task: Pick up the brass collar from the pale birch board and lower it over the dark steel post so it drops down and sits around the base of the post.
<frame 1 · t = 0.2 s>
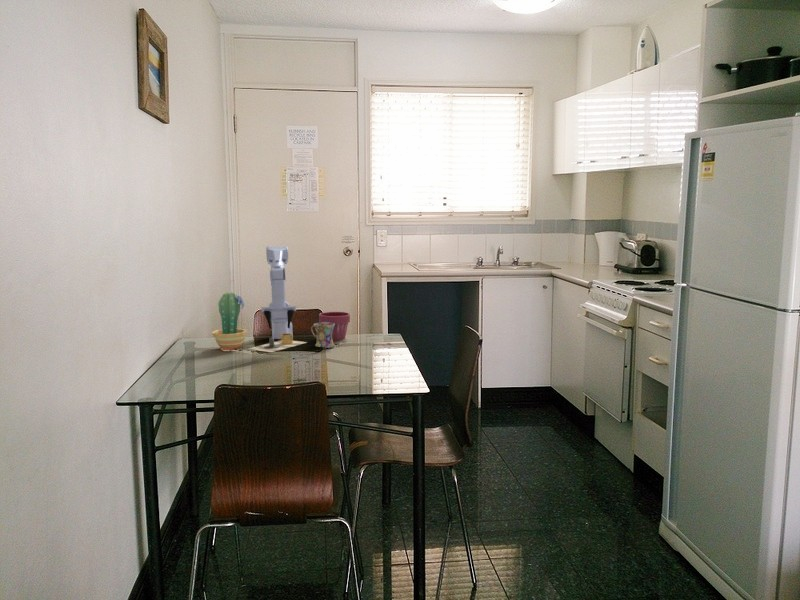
hand: (279, 328, 289), 11 cm above the table, tool pointing down, fingers open, 7 cm apart
plant pot: (335, 341, 316), on the table
potted cactus: (230, 349, 299), on the table
mug: (322, 347, 301), on the table
brass collar: (287, 343, 305), point 1 cm above the table, touching post board
post board: (278, 348, 300), on the table
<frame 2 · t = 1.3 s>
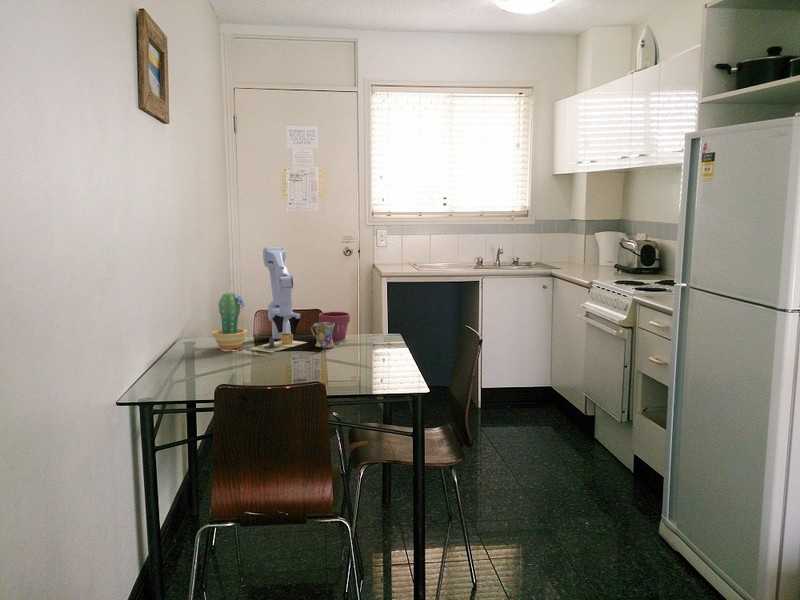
hand: (286, 333, 304), 6 cm above the table, tool pointing down, fingers open, 7 cm apart
nothing on the table moved.
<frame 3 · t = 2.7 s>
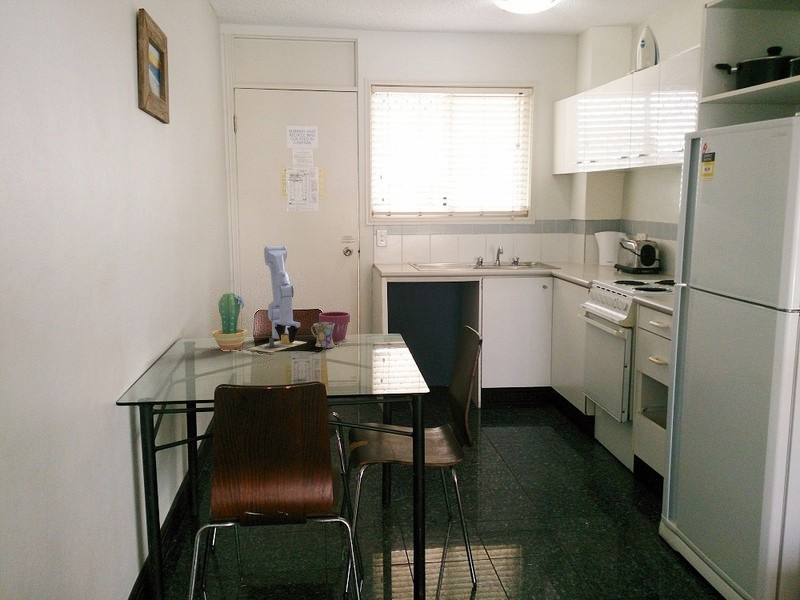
hand: (287, 341, 305), 2 cm above the table, tool pointing down, fingers closed on brass collar, 5 cm apart
brass collar: (287, 343, 305), point 1 cm above the table, touching gripper, post board
everything else where it was.
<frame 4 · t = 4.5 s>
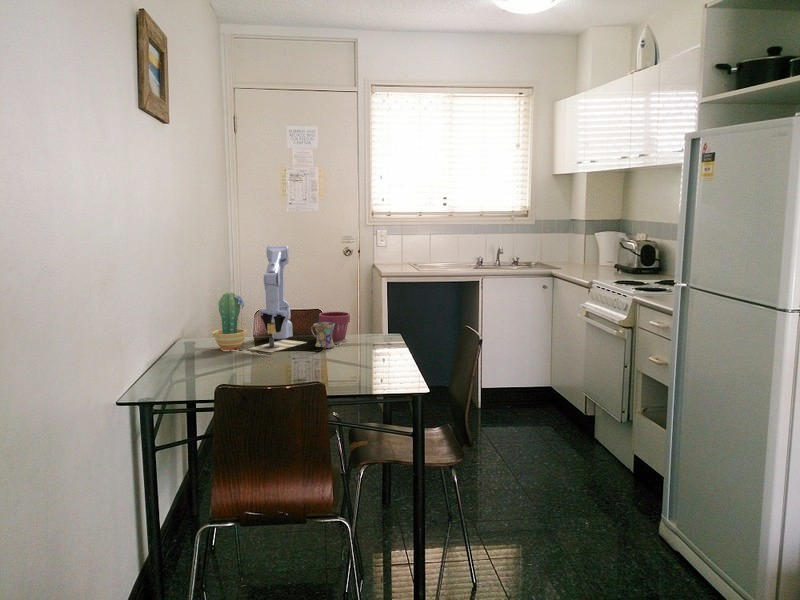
hand: (273, 331, 297), 8 cm above the table, tool pointing down, fingers closed on brass collar, 5 cm apart
brass collar: (273, 332, 297), point 7 cm above the table, touching gripper
everything else where it was.
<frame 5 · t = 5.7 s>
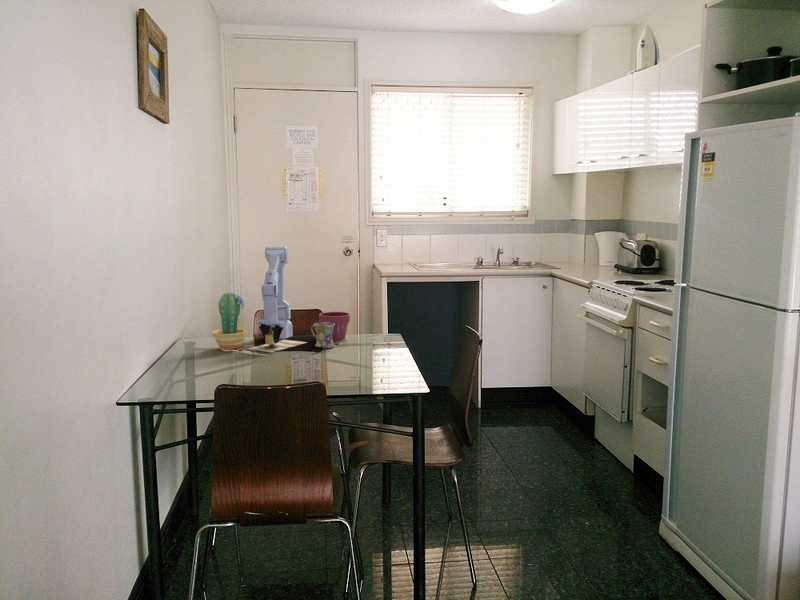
hand: (271, 342, 296), 3 cm above the table, tool pointing down, fingers closed on brass collar, 5 cm apart
brass collar: (271, 343, 296), point 3 cm above the table, touching gripper
everything else where it was.
when the fingers open (3 cm above the table, at t = 6.7 s): brass collar drops 1 cm, resting on post board.
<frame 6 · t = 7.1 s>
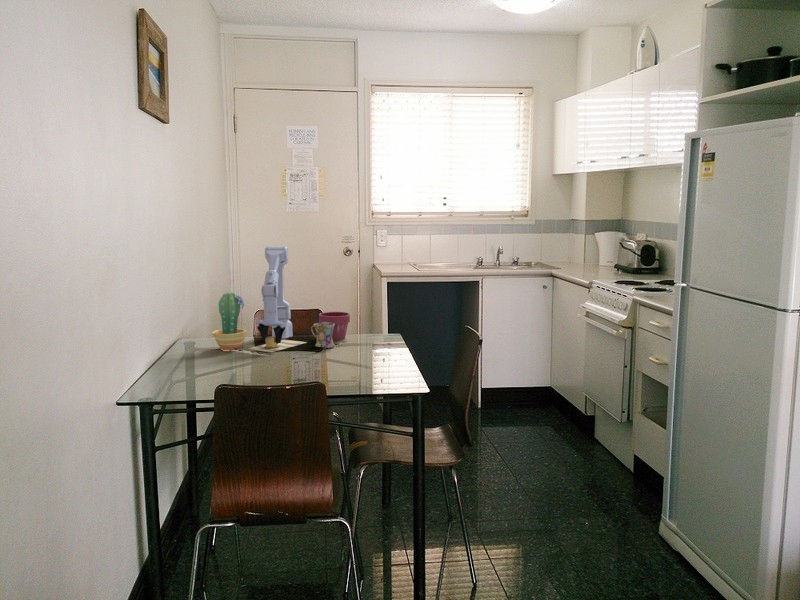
hand: (271, 342, 296), 3 cm above the table, tool pointing down, fingers open, 7 cm apart
brass collar: (271, 346, 297), point 1 cm above the table, touching post board
everything else where it was.
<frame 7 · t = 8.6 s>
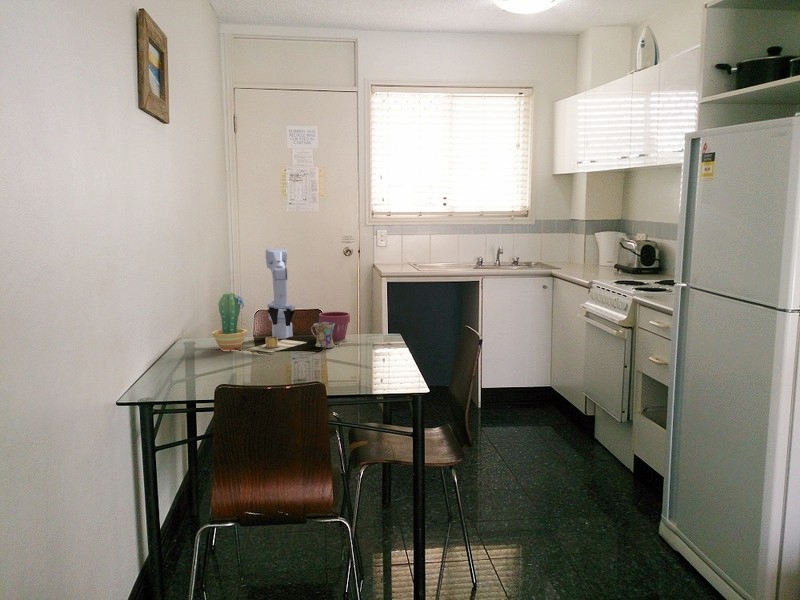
hand: (281, 325, 304), 9 cm above the table, tool pointing down, fingers open, 7 cm apart
nothing on the table moved.
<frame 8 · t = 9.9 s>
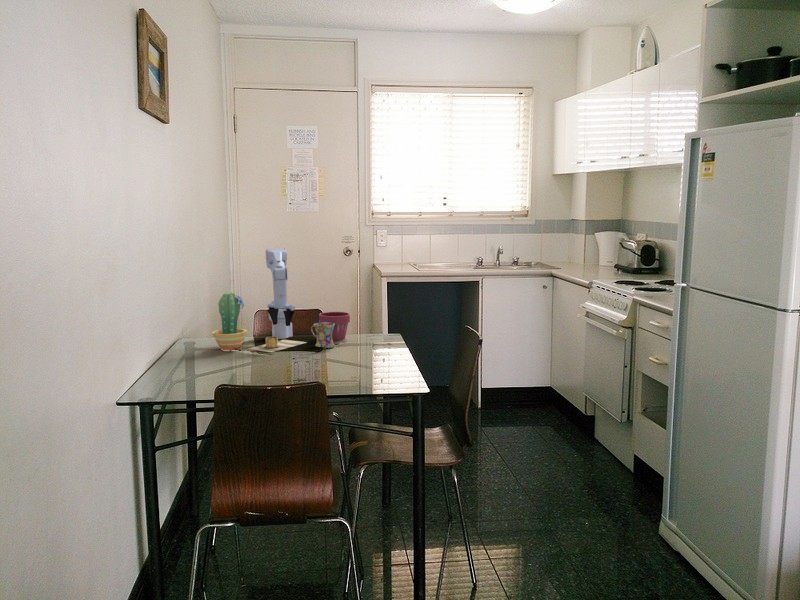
hand: (281, 325, 304), 9 cm above the table, tool pointing down, fingers open, 7 cm apart
nothing on the table moved.
at the end: brass collar 0.0 cm from the target spot on the post board, point 1.4 cm above the post board's base; brass collar tilted 0°; the gripper is holding nothing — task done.
